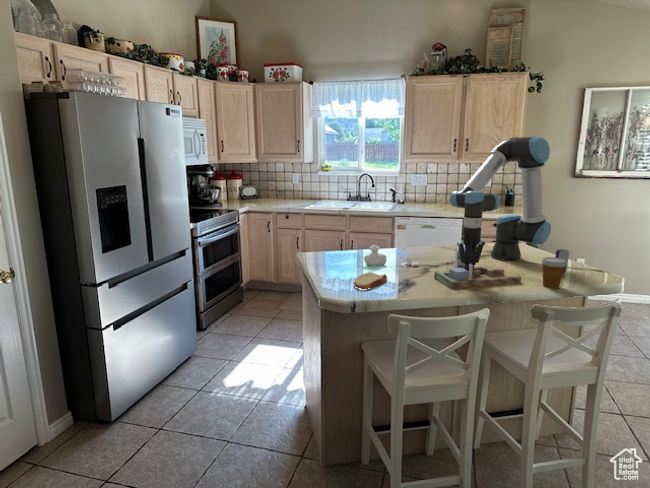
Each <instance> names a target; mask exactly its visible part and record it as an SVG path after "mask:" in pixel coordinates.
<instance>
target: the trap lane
mask: <svg viewBox="0 0 650 488" xmlns="http://www.w3.org/2000/svg"><path fill="white" fill-rule="evenodd" d="M463 269H465V268H463ZM481 274H484V275H486V276H488V278H477V279H468V280H464V281H455V280H453V279H451V278H450V277H449V271H439V270H438V271H437V270H436V271H434V277H433V279H436V280H437V281H439V282H441V283H442V284H444V285H446V286H447V287H448V288H450V289H462V288H464V289H465V288H474V287H484V286H485V287H486V285H487V286H495V285H496V286H498V285H507V284H508V283H509V284H517V283H521V282H522V276H520V275H512V276H504V275H505V269H503V268H495V269H494V268H493V269H492V268H491V269H489V268H487V267H483V266H477V267H475V266H474V271H472V278H473V277H475V278H476V277H481ZM494 276H496V277H494ZM497 276H499V277H497ZM500 276H501V277H500ZM489 277H490V278H489Z"/></svg>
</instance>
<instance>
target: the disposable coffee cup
mask: <svg viewBox="0 0 650 488" xmlns="http://www.w3.org/2000/svg"><path fill="white" fill-rule="evenodd" d="M555 257H556V256H555ZM555 257H550V256H547V257H545V256H544V257H543V258H542V260H541V264H542V286H543V287H545V288H546V289H554V290H556V289H560V286H561V282H562V278H563V277H562V275H563V271H564V267H565V265H566V262H565V260H564V259H560V258H555Z"/></svg>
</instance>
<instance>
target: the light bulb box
mask: <svg viewBox="0 0 650 488" xmlns="http://www.w3.org/2000/svg"><path fill="white" fill-rule="evenodd" d="M463 247H464V251H465V245H464V246H463ZM454 268H465V264H464V263H462V262H461V259H460V252H459V247H458V245H457V244H455V260H454Z"/></svg>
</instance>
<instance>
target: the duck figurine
mask: <svg viewBox="0 0 650 488" xmlns="http://www.w3.org/2000/svg"><path fill="white" fill-rule="evenodd" d="M380 248H381V246H378V245H376V244H372V245H371V246H369V247H368V249H369V250H370V252H371V253H367V254H366V255H364V256H363V261H364V263H365V265H366V266H367V267H368V266H369V267H372V266H373V267H381V266H384V265H386V264H387V259H388V258H387V256H386V254H383V253H381V252H380V253H379V249H380Z"/></svg>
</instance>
